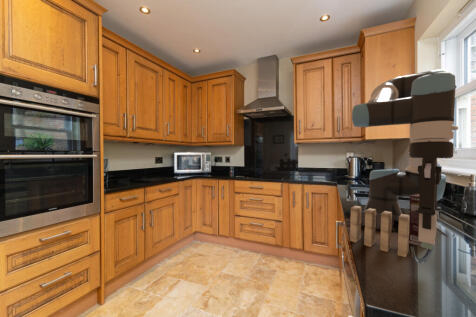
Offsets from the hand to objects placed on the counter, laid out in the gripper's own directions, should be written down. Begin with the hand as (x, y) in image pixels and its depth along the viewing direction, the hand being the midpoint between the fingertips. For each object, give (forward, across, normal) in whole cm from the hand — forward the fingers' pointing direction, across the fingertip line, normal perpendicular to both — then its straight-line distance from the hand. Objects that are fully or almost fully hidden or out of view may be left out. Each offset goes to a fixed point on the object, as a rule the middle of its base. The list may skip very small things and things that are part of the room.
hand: (427, 238), depth 48 cm
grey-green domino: (+2, 0, 0) cm, 2 cm away
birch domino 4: (+9, +10, +6) cm, 14 cm away
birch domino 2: (+9, +10, +14) cm, 19 cm away
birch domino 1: (+9, +10, +18) cm, 22 cm away
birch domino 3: (+9, +10, +10) cm, 16 cm away
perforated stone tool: (+9, +28, +18) cm, 35 cm away
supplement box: (+9, +24, +3) cm, 26 cm away
